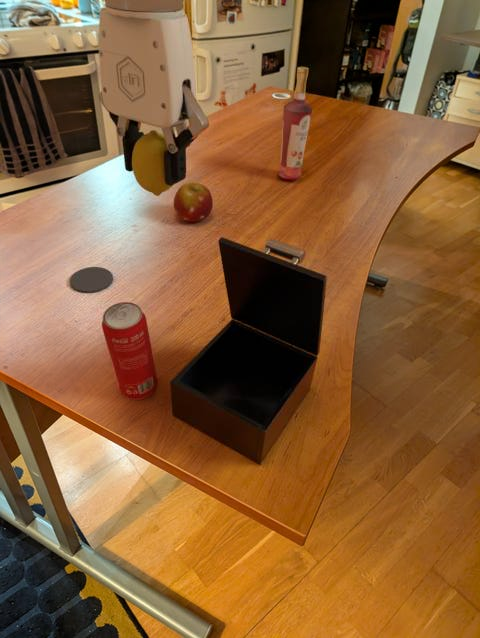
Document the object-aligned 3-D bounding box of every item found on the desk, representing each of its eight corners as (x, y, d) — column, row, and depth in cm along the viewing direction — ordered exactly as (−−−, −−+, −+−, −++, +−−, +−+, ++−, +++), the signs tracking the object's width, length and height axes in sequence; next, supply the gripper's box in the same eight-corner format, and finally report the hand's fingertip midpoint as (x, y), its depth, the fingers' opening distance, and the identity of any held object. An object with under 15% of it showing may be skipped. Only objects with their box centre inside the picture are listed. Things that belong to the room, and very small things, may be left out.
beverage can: (164, 380, 71) (158, 305, 61) (140, 410, 66) (129, 334, 57) (132, 367, 73) (121, 291, 63) (107, 395, 68) (90, 319, 58)
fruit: (206, 230, 106) (206, 198, 101) (168, 224, 107) (167, 192, 102) (216, 211, 113) (217, 180, 108) (181, 206, 114) (180, 175, 109)
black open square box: (260, 465, 61) (265, 432, 56) (172, 415, 66) (169, 381, 61) (310, 389, 71) (317, 356, 66) (230, 351, 76) (232, 318, 72)
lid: (324, 280, 53) (342, 251, 55) (217, 240, 58) (239, 216, 60) (317, 356, 66) (332, 330, 68) (231, 318, 71) (247, 295, 74)
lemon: (128, 202, 56) (121, 135, 51) (144, 183, 61) (138, 120, 55) (172, 208, 56) (169, 141, 51) (184, 189, 60) (183, 126, 55)
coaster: (91, 298, 85) (91, 296, 85) (61, 283, 88) (60, 281, 88) (121, 277, 90) (121, 275, 90) (91, 264, 93) (91, 262, 93)
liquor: (288, 185, 126) (303, 73, 108) (271, 176, 131) (281, 66, 112) (307, 179, 130) (324, 69, 112) (289, 170, 134) (303, 63, 116)
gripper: (52, -13, 45) (82, 166, 57) (191, 10, 39) (193, 206, 51) (107, -16, 50) (124, 149, 62) (239, 3, 44) (230, 184, 56)
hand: (155, 173), depth 56 cm, fingers closed on lemon, 5 cm apart
